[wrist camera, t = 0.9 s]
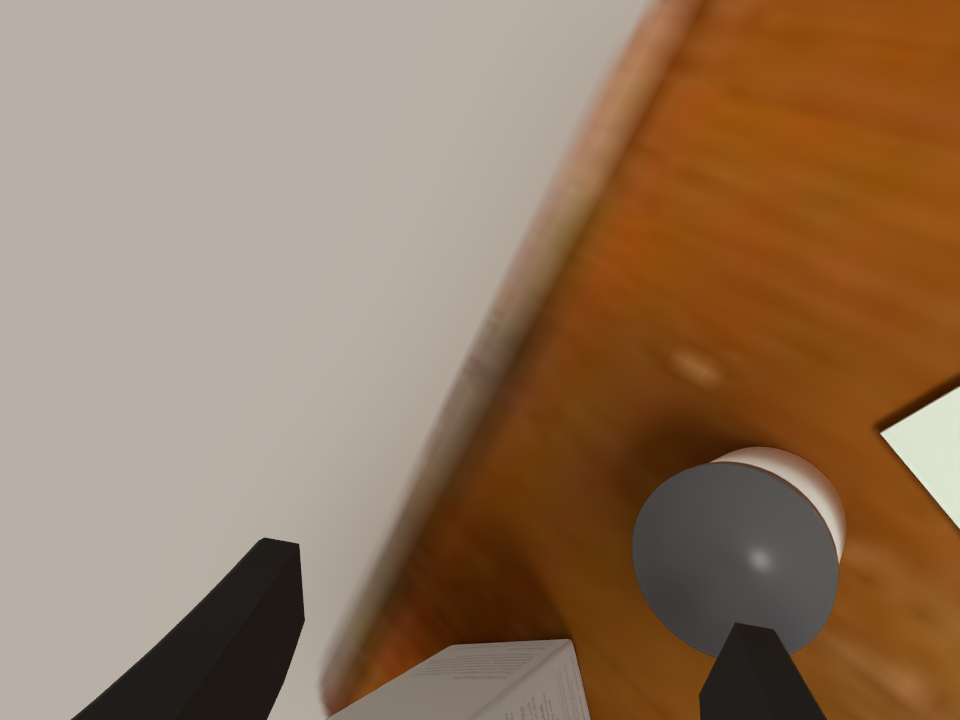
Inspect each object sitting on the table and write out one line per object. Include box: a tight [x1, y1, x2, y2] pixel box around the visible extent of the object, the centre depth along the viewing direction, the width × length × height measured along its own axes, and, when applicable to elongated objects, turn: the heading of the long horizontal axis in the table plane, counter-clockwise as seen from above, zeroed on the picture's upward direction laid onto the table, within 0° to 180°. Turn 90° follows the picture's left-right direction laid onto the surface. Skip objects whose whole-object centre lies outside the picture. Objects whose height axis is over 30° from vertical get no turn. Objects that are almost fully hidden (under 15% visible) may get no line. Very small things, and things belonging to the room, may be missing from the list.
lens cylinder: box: [632, 447, 847, 658], centre depth 19 cm, size 5×5×6 cm
